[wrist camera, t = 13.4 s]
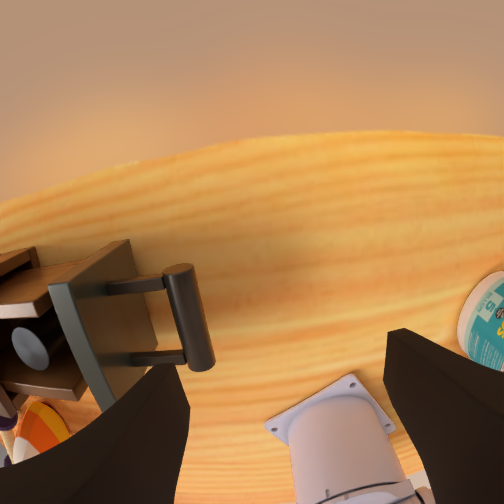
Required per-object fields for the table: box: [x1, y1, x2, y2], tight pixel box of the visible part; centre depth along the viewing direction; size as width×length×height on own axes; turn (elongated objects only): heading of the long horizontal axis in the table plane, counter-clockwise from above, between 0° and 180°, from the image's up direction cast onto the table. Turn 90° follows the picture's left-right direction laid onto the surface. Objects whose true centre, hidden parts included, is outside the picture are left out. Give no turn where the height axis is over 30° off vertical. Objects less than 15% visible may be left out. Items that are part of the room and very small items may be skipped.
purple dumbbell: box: [0, 412, 18, 467], centre depth 22 cm, size 5×5×17 cm
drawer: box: [0, 239, 216, 413], centre depth 14 cm, size 17×7×7 cm, turn 98°
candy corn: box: [13, 401, 70, 464], centre depth 18 cm, size 6×3×8 cm, turn 14°
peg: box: [12, 305, 69, 371], centre depth 14 cm, size 3×3×5 cm
